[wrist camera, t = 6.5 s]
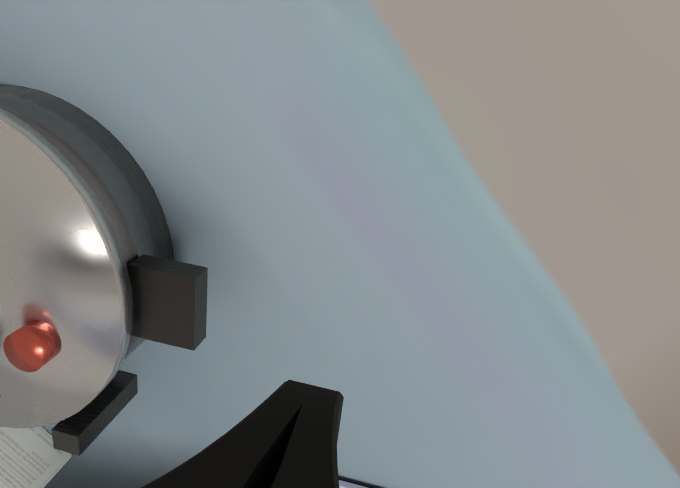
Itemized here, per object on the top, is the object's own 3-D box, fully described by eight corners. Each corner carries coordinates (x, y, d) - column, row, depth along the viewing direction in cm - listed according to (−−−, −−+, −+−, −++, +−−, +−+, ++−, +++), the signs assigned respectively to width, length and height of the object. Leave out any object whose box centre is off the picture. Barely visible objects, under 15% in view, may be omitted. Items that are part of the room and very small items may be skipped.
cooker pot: (224, 415, 26) (180, 484, 22) (-103, 331, 29) (-193, 379, 25) (237, 122, 21) (182, 145, 17) (-166, 55, 24) (-293, 62, 20)
